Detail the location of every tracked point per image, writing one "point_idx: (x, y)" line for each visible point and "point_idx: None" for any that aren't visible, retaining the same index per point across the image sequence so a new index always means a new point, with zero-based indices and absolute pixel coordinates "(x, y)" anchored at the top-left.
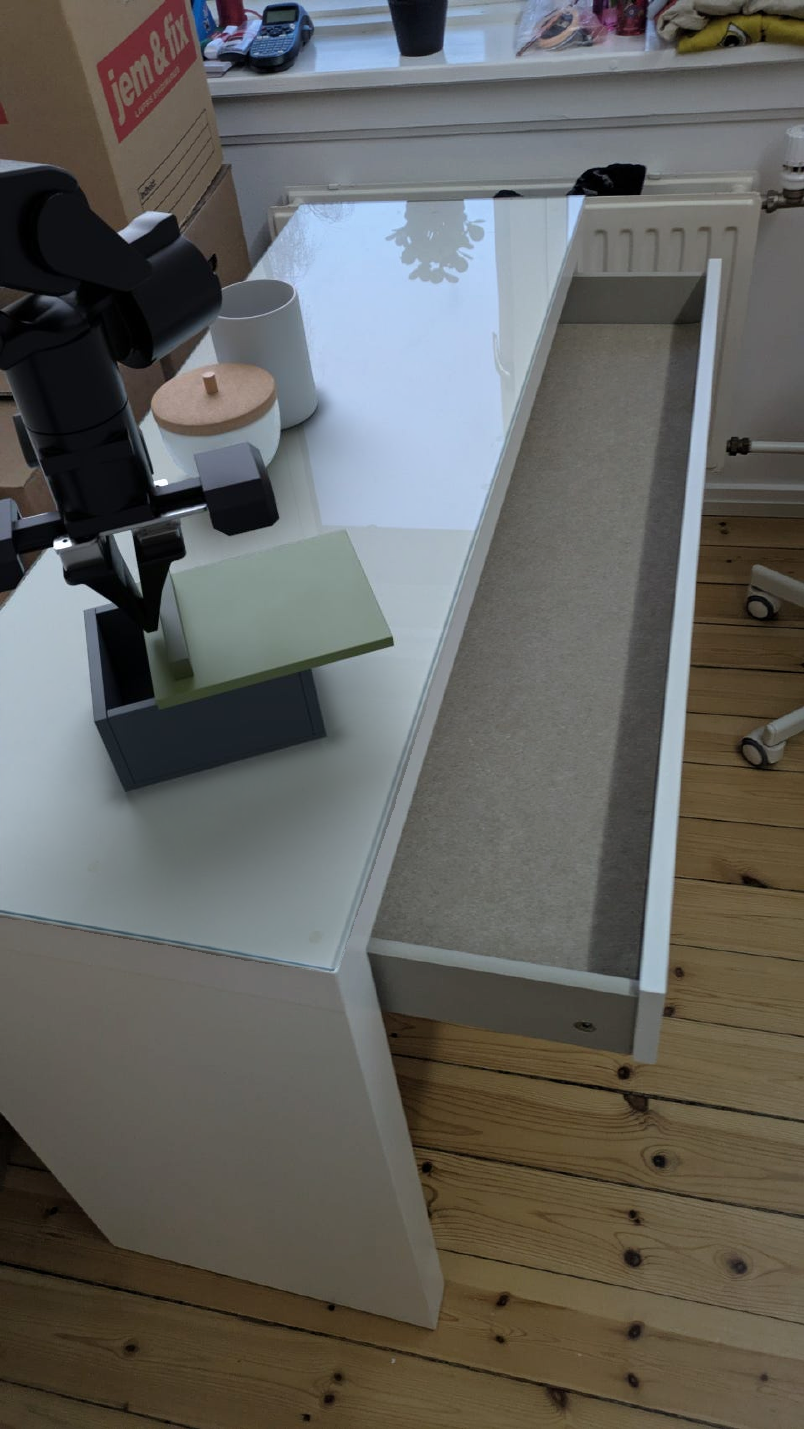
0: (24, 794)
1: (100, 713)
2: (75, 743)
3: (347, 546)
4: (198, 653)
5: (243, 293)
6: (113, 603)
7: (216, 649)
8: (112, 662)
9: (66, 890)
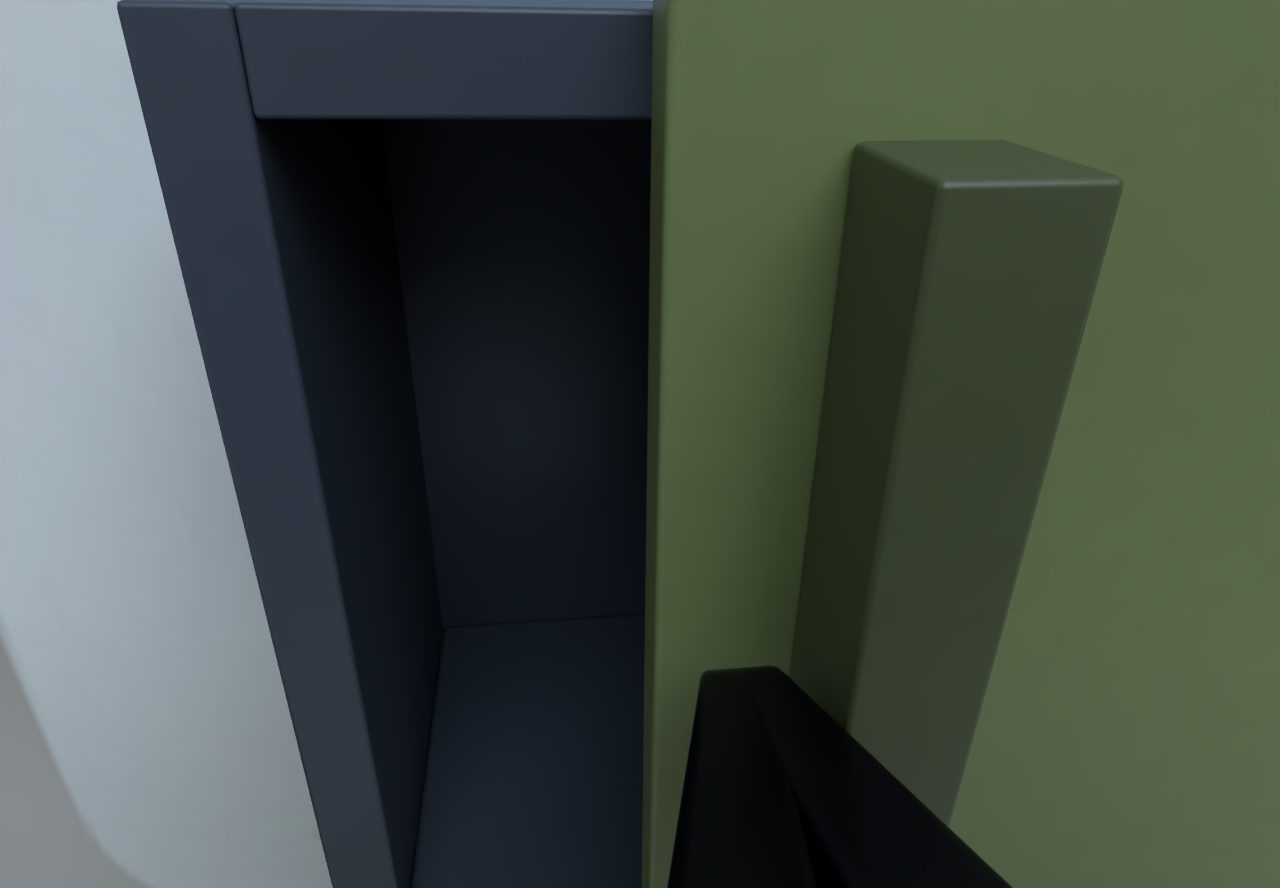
0: (26, 565)
1: None
2: (187, 378)
3: None
4: None
5: None
6: (416, 27)
7: (997, 824)
8: (355, 168)
9: (261, 873)
